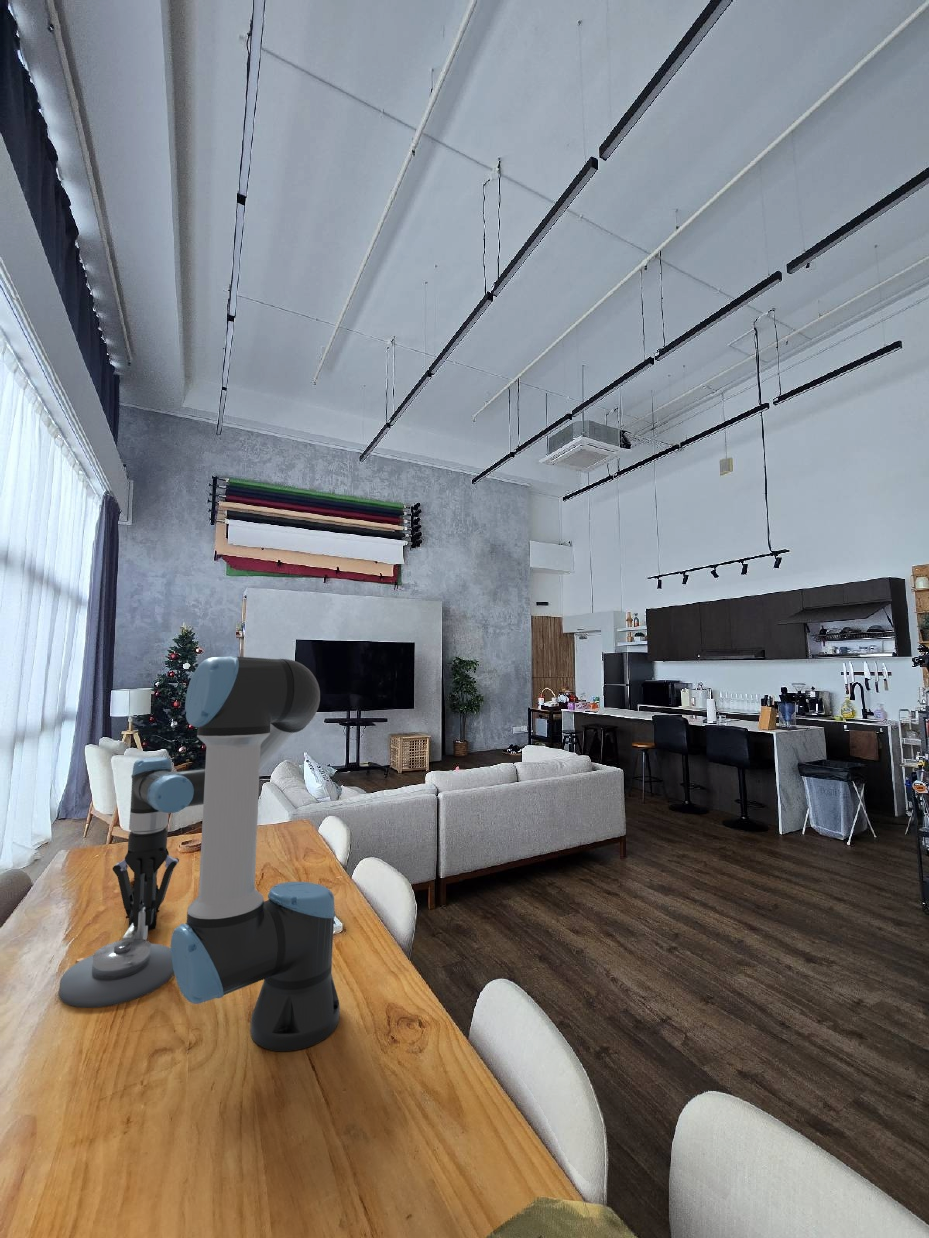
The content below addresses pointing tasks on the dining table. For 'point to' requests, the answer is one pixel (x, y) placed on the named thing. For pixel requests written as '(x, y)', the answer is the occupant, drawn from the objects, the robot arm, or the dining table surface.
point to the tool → (131, 914)
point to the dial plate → (114, 981)
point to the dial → (121, 957)
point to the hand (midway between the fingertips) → (142, 940)
